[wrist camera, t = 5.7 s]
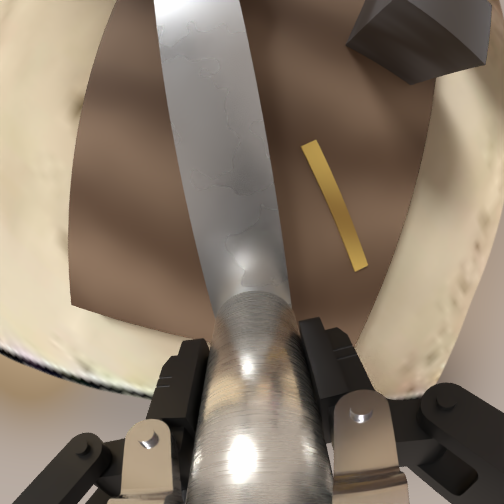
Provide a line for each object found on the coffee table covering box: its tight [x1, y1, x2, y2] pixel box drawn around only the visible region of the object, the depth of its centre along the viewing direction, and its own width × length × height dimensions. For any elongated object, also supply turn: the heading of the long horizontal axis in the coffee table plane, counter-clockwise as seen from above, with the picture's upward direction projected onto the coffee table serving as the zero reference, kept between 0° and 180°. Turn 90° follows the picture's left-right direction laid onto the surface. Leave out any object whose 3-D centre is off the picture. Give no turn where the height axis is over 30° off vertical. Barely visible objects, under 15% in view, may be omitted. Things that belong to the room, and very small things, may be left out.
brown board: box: [68, 0, 492, 347], centre depth 10 cm, size 25×18×8 cm
